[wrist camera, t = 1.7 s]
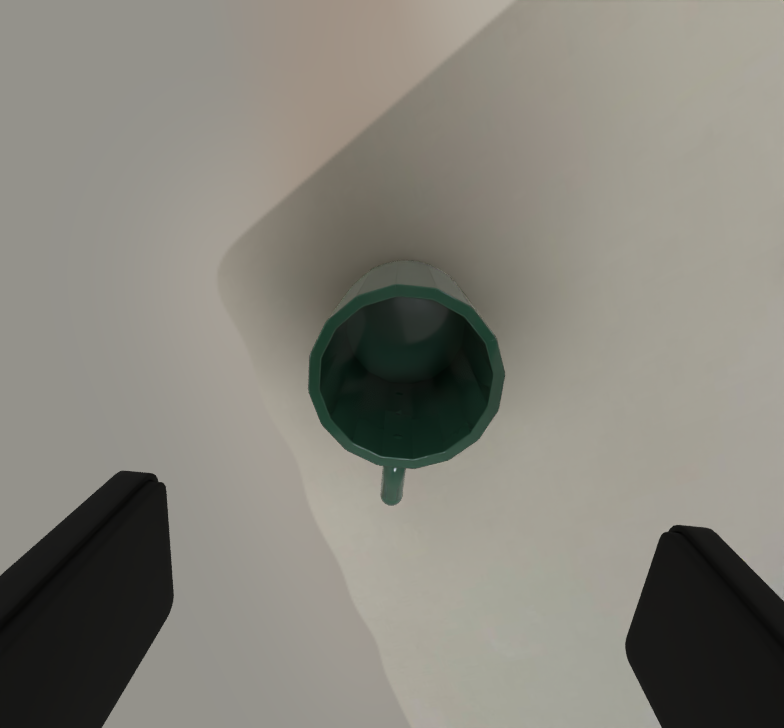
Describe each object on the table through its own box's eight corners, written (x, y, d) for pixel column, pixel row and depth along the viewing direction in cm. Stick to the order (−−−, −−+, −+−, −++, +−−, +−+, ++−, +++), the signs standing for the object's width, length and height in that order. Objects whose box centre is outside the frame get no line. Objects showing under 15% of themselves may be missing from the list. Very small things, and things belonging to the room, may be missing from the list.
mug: (344, 253, 24) (311, 275, 16) (479, 266, 24) (520, 296, 16) (334, 425, 27) (303, 521, 19) (453, 437, 28) (475, 537, 19)
